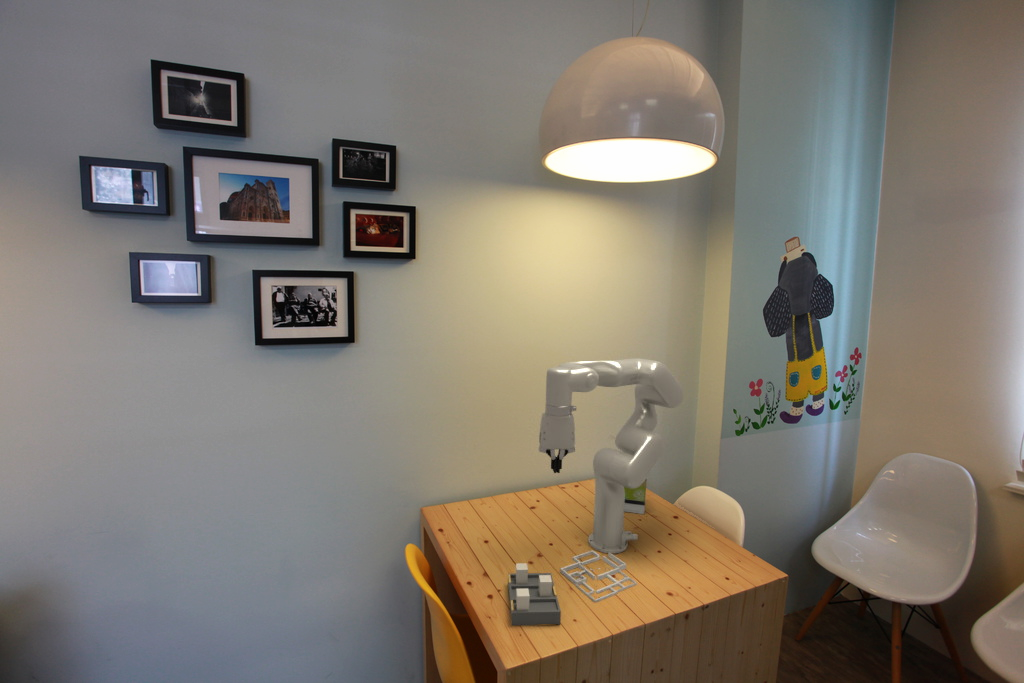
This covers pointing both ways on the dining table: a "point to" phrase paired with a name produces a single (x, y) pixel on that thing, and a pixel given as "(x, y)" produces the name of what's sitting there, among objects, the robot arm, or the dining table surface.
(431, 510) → the dining table surface
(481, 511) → the dining table surface
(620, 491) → the robot arm
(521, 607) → the tab
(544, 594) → the white block
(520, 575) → the white rectangular block
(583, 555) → the floor plan model
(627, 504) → the tea box
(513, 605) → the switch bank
